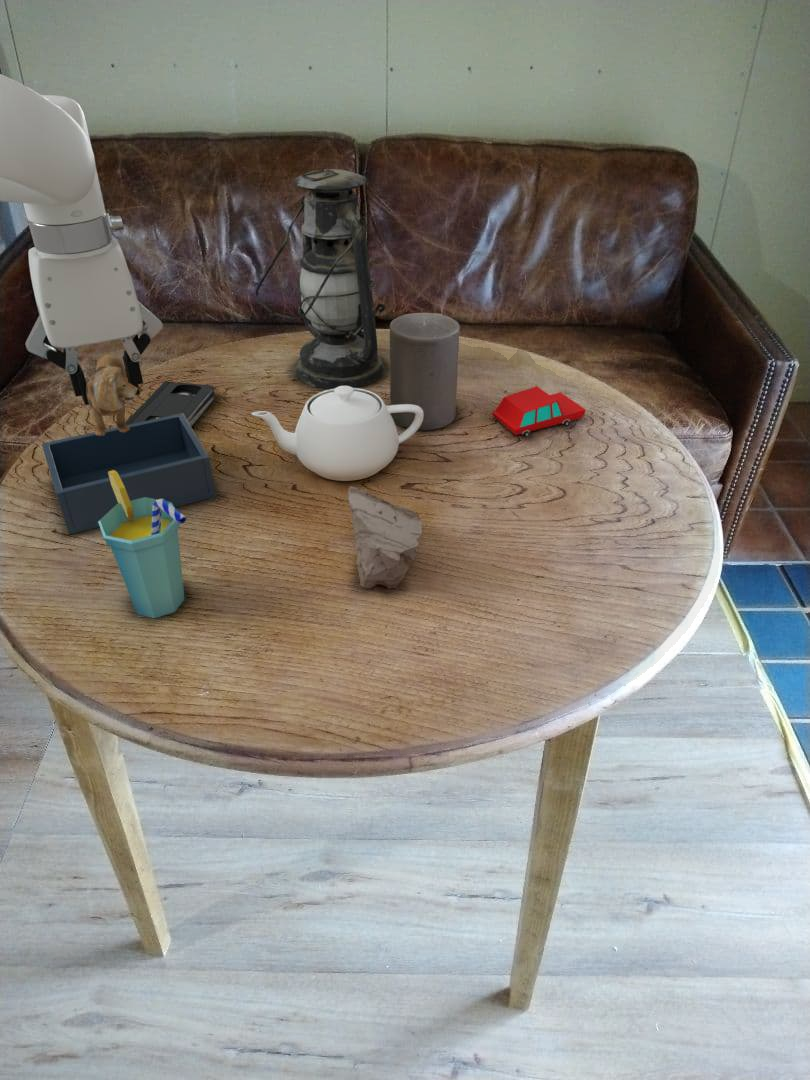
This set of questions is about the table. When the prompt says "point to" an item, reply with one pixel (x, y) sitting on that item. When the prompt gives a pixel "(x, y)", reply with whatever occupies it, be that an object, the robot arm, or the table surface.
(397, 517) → the stone
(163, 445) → the dark blue storage bin
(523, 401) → the toy car
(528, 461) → the table surface
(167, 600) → the cup
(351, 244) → the lantern
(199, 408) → the vhs tape
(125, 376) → the lion figurine
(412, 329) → the pillar candle
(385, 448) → the teapot
